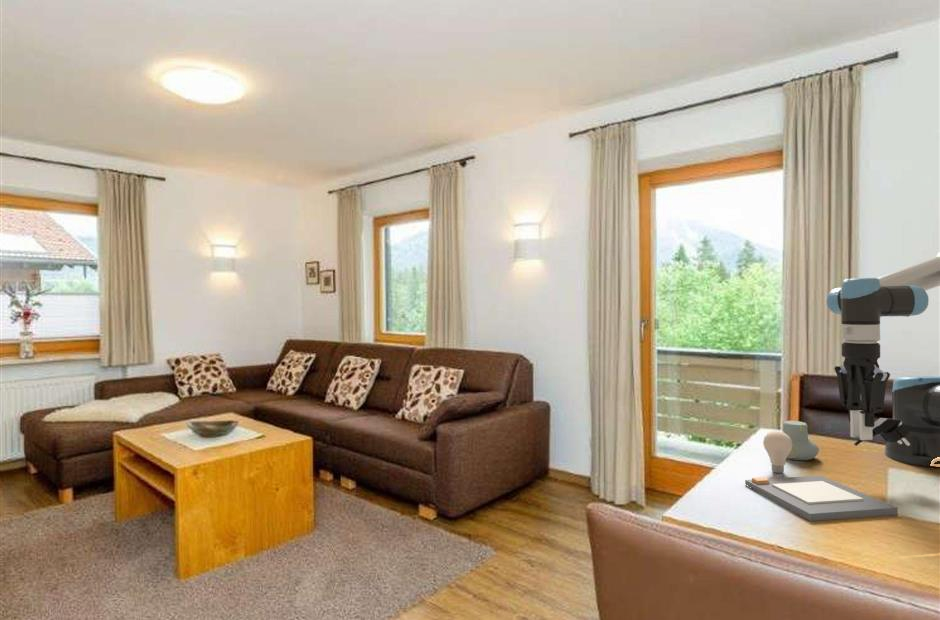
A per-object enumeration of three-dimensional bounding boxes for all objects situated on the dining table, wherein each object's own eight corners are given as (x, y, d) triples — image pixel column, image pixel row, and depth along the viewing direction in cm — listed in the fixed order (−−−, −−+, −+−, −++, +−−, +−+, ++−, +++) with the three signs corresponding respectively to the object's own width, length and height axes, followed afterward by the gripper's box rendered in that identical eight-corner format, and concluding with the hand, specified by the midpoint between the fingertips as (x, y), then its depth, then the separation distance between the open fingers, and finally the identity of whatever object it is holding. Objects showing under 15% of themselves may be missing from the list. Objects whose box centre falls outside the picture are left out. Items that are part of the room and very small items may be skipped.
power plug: (845, 440, 129) (884, 410, 129) (867, 465, 128) (906, 435, 128) (860, 443, 123) (900, 413, 123) (883, 469, 122) (923, 438, 122)
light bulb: (795, 473, 133) (795, 430, 133) (789, 479, 128) (789, 435, 128) (766, 467, 138) (766, 426, 138) (760, 473, 133) (759, 431, 133)
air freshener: (824, 461, 142) (824, 425, 142) (804, 465, 139) (804, 428, 139) (786, 451, 152) (786, 417, 152) (767, 454, 149) (767, 420, 149)
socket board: (820, 481, 127) (820, 472, 127) (897, 514, 107) (897, 503, 107) (745, 486, 124) (745, 476, 124) (809, 521, 105) (809, 509, 105)
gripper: (821, 339, 132) (822, 431, 133) (874, 344, 118) (875, 447, 118) (848, 339, 133) (849, 429, 134) (903, 343, 119) (904, 445, 119)
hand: (861, 437), depth 126 cm, fingers closed on power plug, 2 cm apart
